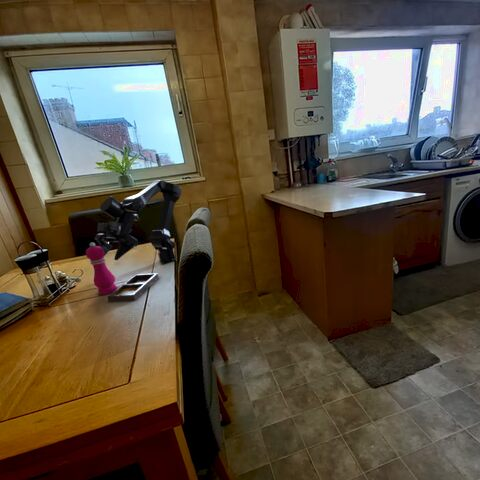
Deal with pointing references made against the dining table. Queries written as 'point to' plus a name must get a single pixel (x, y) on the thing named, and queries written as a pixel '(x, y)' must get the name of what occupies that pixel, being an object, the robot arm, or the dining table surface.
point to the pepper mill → (100, 270)
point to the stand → (133, 287)
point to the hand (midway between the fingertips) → (107, 259)
